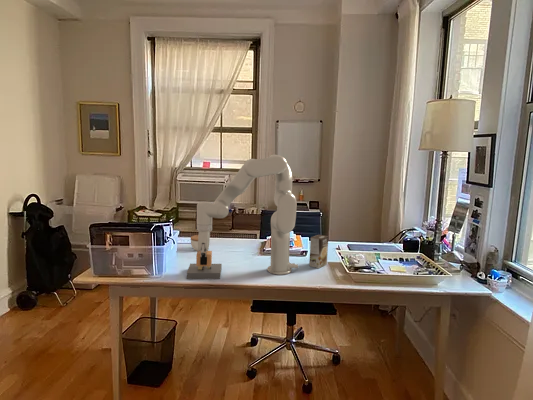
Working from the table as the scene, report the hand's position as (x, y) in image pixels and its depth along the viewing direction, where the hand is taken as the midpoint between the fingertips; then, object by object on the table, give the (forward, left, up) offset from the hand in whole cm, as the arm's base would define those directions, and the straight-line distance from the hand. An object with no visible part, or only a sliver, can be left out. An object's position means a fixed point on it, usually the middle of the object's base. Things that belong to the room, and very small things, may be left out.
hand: (204, 262), depth 195 cm
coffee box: (-60, -14, -6) cm, 62 cm away
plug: (0, 0, -3) cm, 3 cm away
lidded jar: (+7, -42, -6) cm, 43 cm away
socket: (0, 0, -6) cm, 6 cm away
